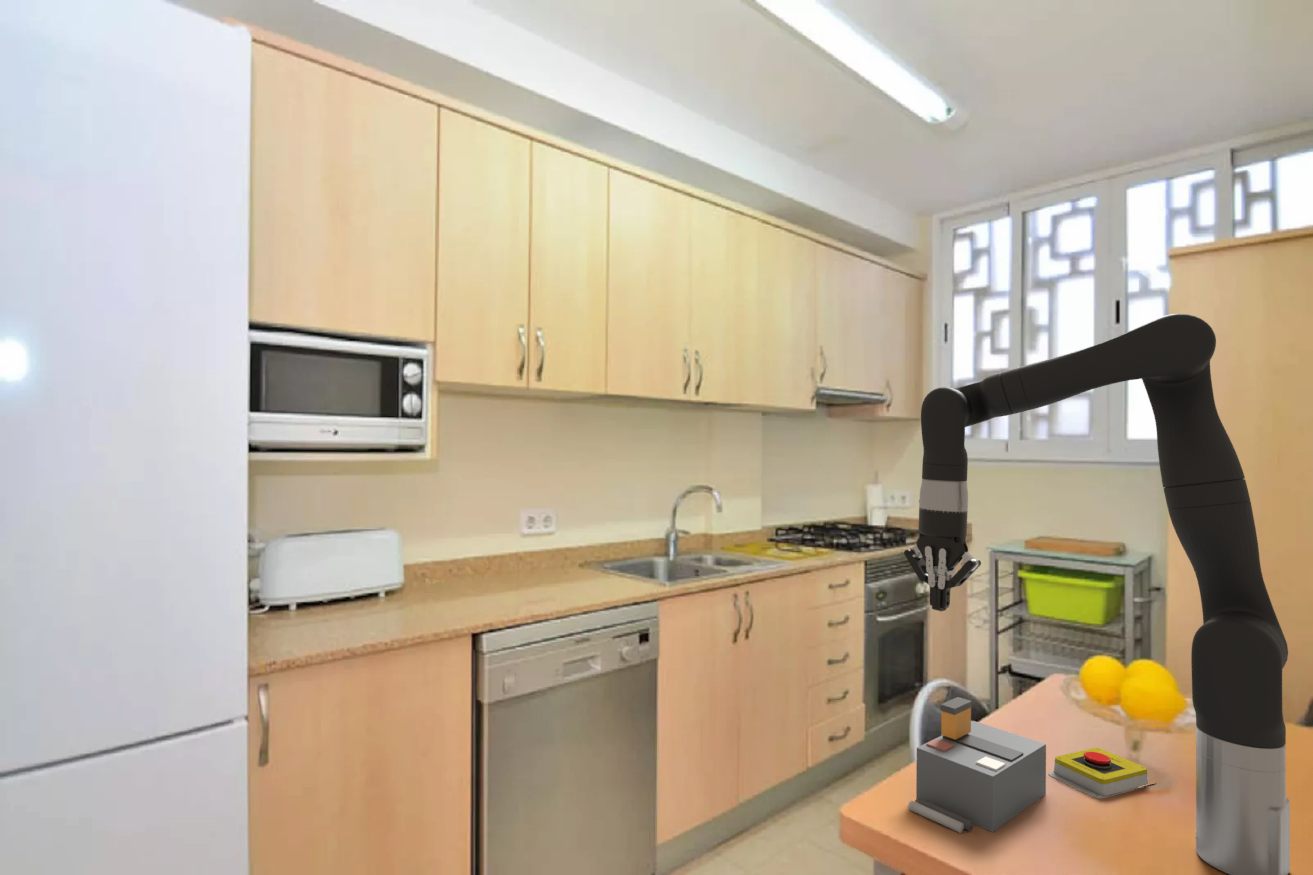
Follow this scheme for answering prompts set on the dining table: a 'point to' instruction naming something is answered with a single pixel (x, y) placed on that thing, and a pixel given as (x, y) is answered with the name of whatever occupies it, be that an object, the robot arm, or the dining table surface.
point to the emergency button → (1098, 772)
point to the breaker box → (982, 774)
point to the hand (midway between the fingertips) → (939, 609)
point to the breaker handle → (956, 718)
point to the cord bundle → (941, 815)
